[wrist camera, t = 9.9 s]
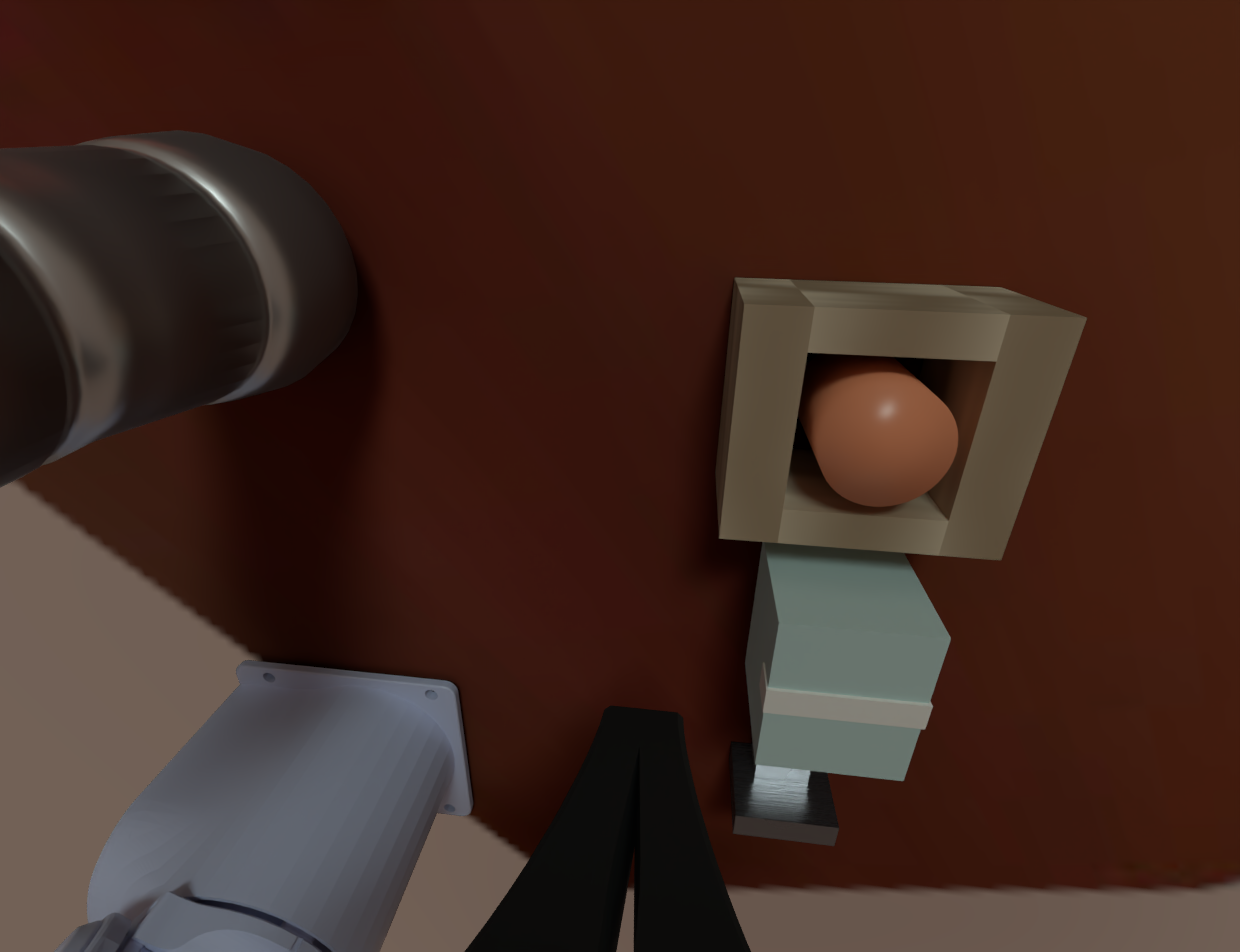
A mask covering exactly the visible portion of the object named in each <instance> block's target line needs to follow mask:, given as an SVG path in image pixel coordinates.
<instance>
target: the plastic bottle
mask: <svg viewBox="0 0 1240 952" xmlns="http://www.w3.org/2000/svg"><path fill="white" fill-rule="evenodd" d="M357 298H358V284H357V271H356V267H355V263H354V259H353V255H352V251H351V248H350V245H349V243H348V241H347V238H346V236H345V234H344V232H343V229H342V227H341V225H340V223H339V222H338V220H337V219H336V217H335V216H334V214H333V213H332V211H331V210H330V208H329V206H328V205H327V203H326V202H325V201H324V200H323V199H322V198H321V197H320V196H319V194H318V193H317V192H316V191H315V190H314V189H313V188H312V187H311V185H310V184H309V183H307V182H306V181H305V180H304V179H302V178H301V177H300V176H299V175H298V174H296V173H295V172H294V171H293V170H291V169H290V168H289V167H287V166H285V165H284V164H282V163H280V162H278V161H277V160H275V159H273V158H271V157H270V156H268V155H266V154H263V153H260V152H257V151H255V150H252V149H249V148H246V147H243V146H240V145H237V144H234V143H231V142H228V141H225V140H222V139H219V138H216V137H213V136H210V135H207V134H202V133H194V132H187V131H179V130H177V131H166V132H154V133H143V134H132V135H122V136H112V137H106V138H101V139H97V140H92V141H88V142H83V143H80V144H78V145H75V146H51V147H27V148H4V149H0V487H2V486H4V485H7V484H8V483H11V482H13V481H15V480H17V479H19V478H21V477H23V476H24V475H26V474H28V473H30V472H31V471H33V470H35V469H37V468H39V467H40V466H41V465H45V464H49V463H51V462H53V461H55V460H57V459H59V458H61V457H63V456H65V455H67V454H69V453H72V452H74V451H76V450H78V449H80V448H82V447H84V446H86V445H88V444H90V443H92V442H94V441H97V440H100V439H103V438H106V437H109V436H112V435H115V434H118V433H121V432H124V431H127V430H130V429H133V428H136V427H139V426H142V425H145V424H148V423H151V422H154V421H157V420H160V419H163V418H166V417H169V416H172V415H175V414H178V413H181V412H184V411H187V410H190V409H193V408H196V407H199V406H202V405H211V404H217V403H223V402H229V401H235V400H238V399H242V398H246V397H250V396H254V395H258V394H261V393H265V392H269V391H272V390H276V389H279V388H283V387H286V386H289V385H290V384H292V383H294V382H296V381H298V380H300V379H302V378H304V377H305V376H306V375H307V374H309V373H310V372H311V371H312V370H313V369H314V368H315V367H316V366H318V365H319V364H320V363H321V362H322V361H323V360H324V359H325V358H327V357H328V356H329V355H330V354H331V353H332V352H333V351H334V350H335V349H337V348H338V347H339V345H340V344H341V342H342V341H343V339H344V338H345V336H346V335H347V333H348V332H349V330H350V327H351V324H352V321H353V319H354V316H355V313H356V305H357Z"/></svg>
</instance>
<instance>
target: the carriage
mask: <svg viewBox="0 0 1240 952" xmlns="http://www.w3.org/2000/svg"><path fill="white" fill-rule="evenodd" d="M950 640H951V638H950V636H949V634H948V632H947V630H946V629H945V627H944V625H943V623H942V621H941V620H940V618H939V616H938V614H937V612H936V610H935V609H934V607H933V605H932V603H931V601H930V600H929V598H928V596H927V594H926V592H925V591H924V589H923V587H922V585H921V583H920V581H919V580H918V578H917V576H916V574H915V572H914V571H913V569H912V567H911V565H910V563H909V562H908V560H907V558H906V556H905V554H904V553H900V552H887V551H874V550H861V549H848V548H835V547H822V546H809V545H796V544H783V543H770V542H762V549H761V555H760V562H759V569H758V576H757V583H756V590H755V597H754V604H753V611H752V618H751V625H750V632H749V638H748V645H747V652H746V659H745V668H746V678H747V688H748V699H749V709H750V719H751V730H752V740H753V750H754V761H755V765H764V766H773V767H782V768H791V769H800V770H809V771H818V772H827V773H836V774H845V775H854V776H862V777H871V778H880V779H889V780H898V781H904V778H905V775H906V772H907V769H908V766H909V763H910V760H911V757H912V754H913V751H914V748H915V745H916V742H917V739H918V736H919V733H920V730H921V729H925V728H926V725H927V722H928V719H929V716H930V713H931V710H932V707H933V706H932V704H931V702H930V700H931V697H932V694H933V691H934V688H935V685H936V682H937V679H938V676H939V673H940V670H941V667H942V664H943V661H944V658H945V655H946V652H947V649H948V646H949V643H950Z"/></svg>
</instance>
